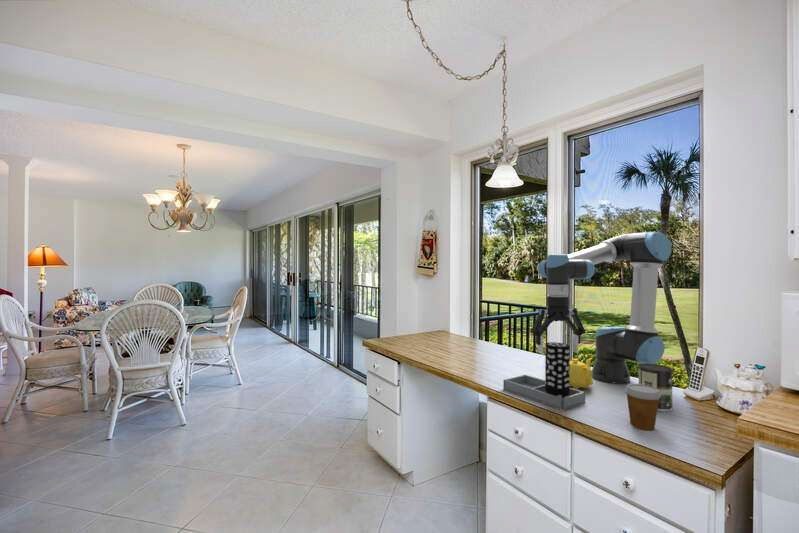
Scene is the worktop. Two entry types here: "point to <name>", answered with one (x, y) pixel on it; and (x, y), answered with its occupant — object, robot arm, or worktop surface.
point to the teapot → (580, 374)
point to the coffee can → (658, 382)
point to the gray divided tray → (542, 392)
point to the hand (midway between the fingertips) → (558, 353)
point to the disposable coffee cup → (642, 405)
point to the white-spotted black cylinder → (557, 369)
